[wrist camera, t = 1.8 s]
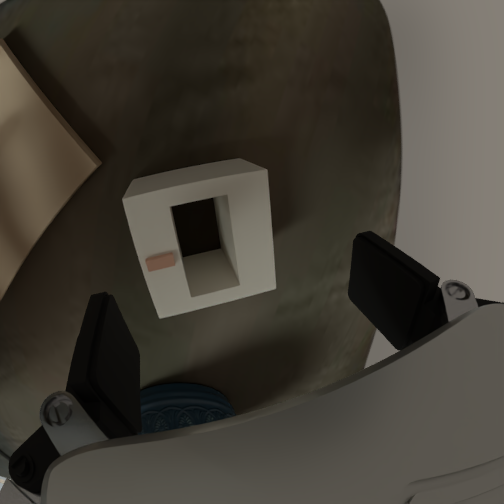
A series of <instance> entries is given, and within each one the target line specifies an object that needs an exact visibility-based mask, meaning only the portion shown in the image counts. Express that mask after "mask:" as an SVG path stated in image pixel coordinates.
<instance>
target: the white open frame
mask: <svg viewBox="0 0 504 504" xmlns="http://www.w3.org/2000/svg"><path fill="white" fill-rule="evenodd" d="M208 198H213V201H214V207H215V214H216V220H217V226H218V232H219V239H220V245H221V249H216V250H212V251H208V252H204V253H199V254H195V255H191V256H187V257H182V252H181V248H180V244H179V239H178V235H177V231H176V226H175V221H174V217H173V212H172V207H171V206H175V205H180V204H184V203H189V202H194V201H198V200H203V199H208ZM122 201H123V205H124V209H125V213H126V216H127V220H128V224H129V228H130V231H131V235H132V238H133V242H134V245H135V249H136V252H137V255H138V258H139V262H140V265H141V268H142V271H143V274H144V277H145V280H146V283H147V286H148V289H149V292H150V294H151V297H152V300H153V303H154V305H155V308H156V311H157V313H158V316H159V319H160V318H164V317H169V316H173V315H177V314H181V313H185V312H190V311H194V310H198V309H202V308H206V307H210V306H214V305H218V304H221V303H225V302H229V301H233V300H237V299H240V298H244V297H248V296H252V295H255V294H259V293H263V292H266V291H270V290H273V289H276V279H275V264H274V249H273V235H272V221H271V208H270V195H269V183H268V171H267V169H265V168H263V167H260V166H258V165H255V164H253V163H251V162H248V161H246V160H243V159H241V158H237V159H231V160H224V161H218V162H213V163H207V164H202V165H196V166H191V167H186V168H181V169H176V170H172V171H167V172H163V173H158V174H154V175H150V176H145V177H141V178H137V179H133V180H132V182H131V184H130V186H129V187H128V189H127V191H126V193H125V195H124V197H123V198H122Z"/></svg>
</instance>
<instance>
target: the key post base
mask: <svg viewBox="0 0 504 504" xmlns="http://www.w3.org/2000/svg"><path fill="white" fill-rule="evenodd" d="M101 164H102V162H101V161H100V160H99V159H98V157H97V156H96V155H95V154H94V153H93V152H92V151H91V150H90V148H89V147H88V146H87V145H86V144H85V143H84V142H83V140H82V139H81V138H80V137H79V136H78V135H77V133H76V132H75V131H74V130H73V129H72V128H71V126H70V125H69V124H68V123H67V122H66V120H65V119H64V118H63V117H62V116H61V114H60V113H59V112H58V111H57V110H56V108H55V107H54V106H53V105H52V103H51V102H50V101H49V100H48V98H47V97H46V96H45V95H44V93H43V92H42V91H41V90H40V88H39V87H38V86H37V85H36V83H35V82H34V81H33V79H32V78H31V77H30V75H29V74H28V73H27V72H26V70H25V69H24V68H23V66H22V65H21V64H20V62H19V61H18V59H17V58H16V57H15V55H14V54H13V53H12V51H11V50H10V48H9V47H8V46H7V44H6V43H5V41H4V40H3V39H2V38H0V301H1V300H2V298H3V296H4V295H5V293H6V291H7V290H8V288H9V286H10V284H11V282H12V281H13V279H14V277H15V276H16V274H17V272H18V271H19V269H20V267H21V266H22V264H23V263H24V261H25V259H26V258H27V256H28V255H29V253H30V252H31V250H32V249H33V247H34V246H35V244H36V243H37V241H38V240H39V239H40V237H41V236H42V234H43V233H44V232H45V230H46V229H47V227H48V226H49V225H50V223H51V222H52V221H53V220H54V218H55V217H56V216H57V214H58V213H59V212H60V211H61V209H62V208H63V207H64V206H65V204H66V203H67V202H68V201H69V199H70V198H71V197H72V196H73V195H74V194H75V192H76V191H77V190H78V189H79V188H80V187H81V186H82V184H83V183H84V182H85V181H86V180H87V179H88V178H89V177H90V176H91V174H92V173H93V172H94V171H95V170H96V169H97V168H98V167H99V166H100V165H101Z"/></svg>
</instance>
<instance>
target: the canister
mask: <svg viewBox="0 0 504 504" xmlns="http://www.w3.org/2000/svg"><path fill="white" fill-rule="evenodd" d="M140 401H141V421H142V432H140V433H138V435H142V434H149V433H156V432H163V431H169V430H174V429H180V428H185V427H190V426H195V425H200V424H204V423H209V422H214V421H218V420H222V419H226V418H230V417H234V416H236V414H235V411H234V409H233V407H232V405H231V404H230V403H229V401H228V399H227V398H226V397H225V396H224V395H223V394H222V393H220V392H219V391H217V390H215V389H212V388H210V387H206V386H202V385H197V384H188V383H172V384H163V385H158V386H153V387H150V388H147V389H144V390H142V391H140Z"/></svg>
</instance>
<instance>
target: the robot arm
mask: <svg viewBox="0 0 504 504" xmlns="http://www.w3.org/2000/svg"><path fill="white" fill-rule="evenodd" d="M439 280H440V278H439V277H438V276H436V275H435V274H434V273H432V272H431V271H429V270H428V269H427V268H425V267H424V266H423V265H421V264H420V263H418V262H417V261H415V260H414V259H413V258H411V257H410V256H408V255H407V254H405V253H404V252H402V251H401V250H399V249H398V248H396V247H395V246H393V245H392V244H390V243H389V242H387V241H386V240H384V239H383V238H381V237H380V236H378V235H376V234H375V233H373V232H372V231H367V232H363V233H359V234H357V236H356V238H355V239H354V240H353V250H352V261H351V271H350V280H349V288H348V296H349V298H350V300H351V301H352V302H353V303H354V304H355V305H356V306H357V307H358V309H359V310H360V311H361V312H362V313H363V314H364V315H365V316H366V317H367V318H368V319H369V320H370V321H371V322H372V323H373V325H374V326H375V327H376V328H377V329H378V330H379V331H380V332H381V333H382V334H383V335H384V336H385V337H386V339H387V340H388V341H389V342H390V343H391V344H392V345H393V346H394V347H395V348H396V349H397V350H400V351H399V352H397V353H395V354H393V355H391V356H389V357H388V358H386V359H384V360H382V361H380V362H378V363H376V364H374V365H372V366H370V367H368V368H365V369H363V370H361V371H359V372H357V373H355V374H353V375H350V376H348V377H346V378H344V379H341V380H339V381H337V382H334V383H332V384H329V385H327V386H325V387H322V388H320V389H317V390H314V391H312V392H309V393H307V394H304V395H301V396H298V397H296V398H293V399H290V400H287V401H284V402H281V403H278V404H275V405H272V406H269V407H266V408H262V409H259V410H256V411H252V412H249V413H245V414H242V415H238V416H234V417H230V418H226V419H222V420H218V421H214V422H209V423H204V424H200V425H195V426H190V427H185V428H180V429H174V430H169V431H163V432H156V433H149V434H142V435H138V433H140V432H142V421H141V401H140V354H139V350H138V347H137V345H136V343H135V341H134V339H133V337H132V335H131V333H130V331H129V329H128V327H127V325H126V323H125V321H124V319H123V317H122V314H121V312H120V310H119V308H118V306H117V303H116V301H115V299H114V297H113V295H108V293H107V292H102V293H98V294H93V295H91V297H90V300H89V303H88V306H87V309H86V313H85V316H84V319H83V323H82V326H81V330H80V334H79V336H78V338H77V342H76V346H75V350H74V354H73V358H72V362H71V367H70V371H69V376H68V381H67V386H66V391H58V392H55V393H53V394H51V395H49V396H48V397H47V398H46V399H45V400H44V402H43V404H42V405H41V408H40V420H41V423H42V426H41V427H40V428H39V429H38V430H37V431H36V432H35V433H34V434H33V435H31V436H30V437H29V438H28V439H27V440H26V441H25V442H24V443H23V444H22V445H21V446H20V447H19V448H18V449H17V450H16V451H15V452H14V453H13V454H12V456H11V458H10V461H9V474H10V476H11V480H9V479H8V478H7V479H6V481H5V483H4V485H3V487H2V489H1V491H0V504H504V303H500V302H495V301H489V300H483V299H477V298H475V296H474V293H473V291H472V290H471V288H470V287H469V286H467V285H466V284H465V283H463V282H460V281H457V280H448V281H445V282H443V284H442V286H441V288H439V287H438V283H439Z"/></svg>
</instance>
